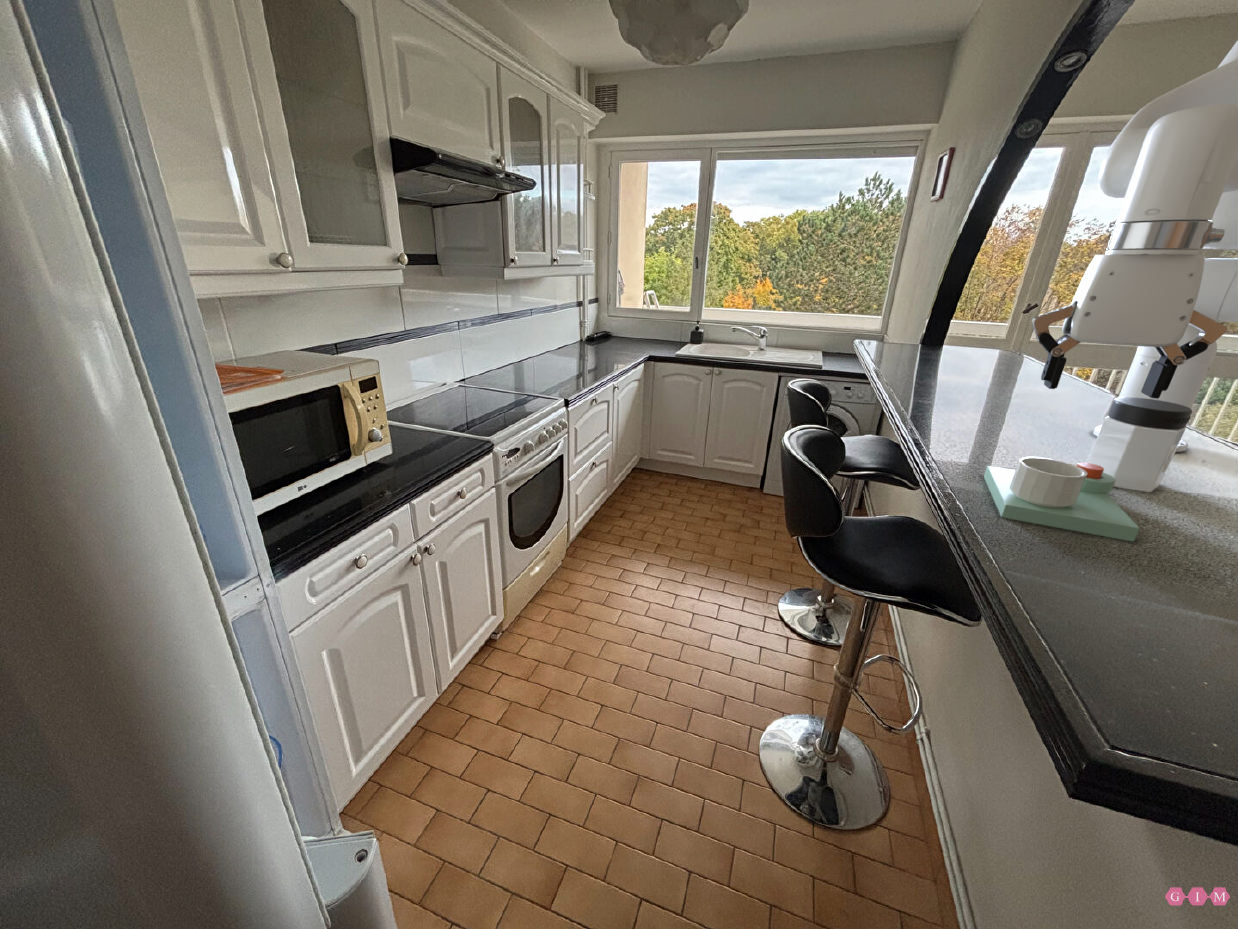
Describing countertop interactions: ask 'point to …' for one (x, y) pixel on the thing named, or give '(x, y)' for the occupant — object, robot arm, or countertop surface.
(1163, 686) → the countertop surface
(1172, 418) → the jar
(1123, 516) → the scale
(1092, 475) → the button
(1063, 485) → the bowl
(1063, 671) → the countertop surface
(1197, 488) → the countertop surface
